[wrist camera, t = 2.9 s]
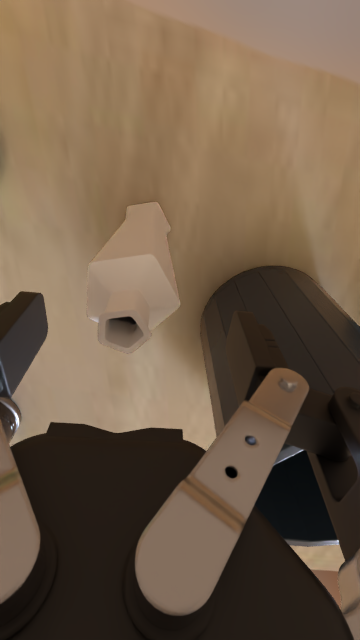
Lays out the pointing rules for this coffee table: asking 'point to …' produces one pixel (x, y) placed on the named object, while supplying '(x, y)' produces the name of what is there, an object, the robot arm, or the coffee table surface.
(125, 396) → the coffee table surface
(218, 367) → the canister
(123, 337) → the perfume bottle
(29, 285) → the coffee table surface
